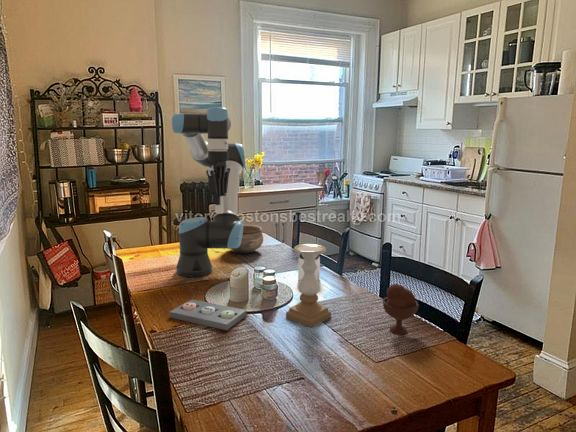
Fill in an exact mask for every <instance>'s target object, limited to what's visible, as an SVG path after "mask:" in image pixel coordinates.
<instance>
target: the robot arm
mask: <svg viewBox="0 0 576 432" xmlns="http://www.w3.org/2000/svg"><path fill="white" fill-rule="evenodd" d="M231 122H232V121H231V119H230V117H229V112H228V109H227V108H226V107H208V108H207V111H206V113H186V112H185V113H184V112H182V113H174V114H172V117H171V128H172V132H173V133H174V134H179V135H180V134H182V136H183V137H184V140H185V142H186V144H187V145H188V147H189V154H190V156H191V158H192V159H193V161H195V162H197V163H198V164H199V165H201V166H204V167H205V168H206V167H207V168H209V169H207V170H206V171H205V172H206V175H207V180H208V183H209V190H210V196H212V197H214V208H215V209H214V211H215V212H214V213H215V215H214V216H213V219H212V220H208V218H207V217H205V216H199V217H192V218H191V217H190V218H186V219H183V220H182V221H180V222H179V225H178V237H179V238H178V239H179V257H178V261H177V265H176V274H177V276H181V277H186V278H197V277H203V276H208V275H210V274H211V273H213V265H212V262H211V259H210V257H209V254H208V253H209V252H208V250H209V249H226V250H227V249H228V250H232V249H231V248H238V247H239V246H240V244H241V241H242V235H243V225H244V222H243V221H241V219H240V217H239V215H238V199H239V177H240V174H241V173H242V171H243V169H245V168H246V159H245V150H244V149H245V148H244V145H243V144H241V143H235V142H233V143H229V130H230V129H231V126H232V125H231V124H232V123H231ZM204 134H206V135H207V141H206V138H205V137H204Z"/></svg>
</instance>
